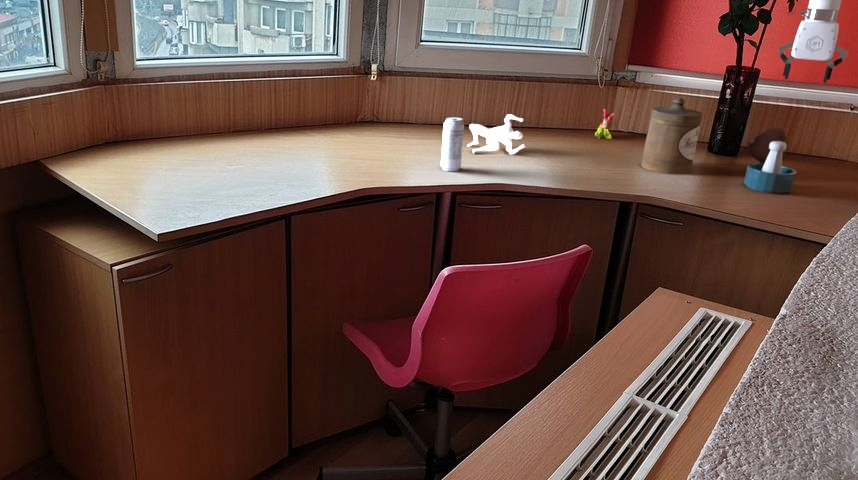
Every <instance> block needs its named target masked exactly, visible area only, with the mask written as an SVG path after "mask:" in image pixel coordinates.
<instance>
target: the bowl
mask: <svg viewBox="0 0 858 480" xmlns="http://www.w3.org/2000/svg"><path fill="white" fill-rule="evenodd" d="M763 166H764V163H760V162H758V163H757V162H755V163H749V164H748V165H747V168H746V173H745V177H744V181H743V184H744V185H745V186H746V187H747V188H749V189H750V190H754V191H757V192H760V193H767V194H774V195H781V194H788V193H789V192H792V191H793V188H794V186H795V185H794V184H795V180H796V177H797V170H795V169H793V168H790V167H787V166H784V165H782V169H781V174H778V173H769V172H764V171H761V170H762V168H763Z"/></svg>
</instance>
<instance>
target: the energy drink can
mask: <svg viewBox="0 0 858 480" xmlns="http://www.w3.org/2000/svg"><path fill="white" fill-rule="evenodd" d="M463 121H464V119H463V118H461V117H455V116H454V117H453V116H451V117H449V116H448V117H446V118H445V121H444V122H443V128H442V143H441V156H440V167H441V169H442V170H443V171H445V172H458V171H460V168H461V167H462V157H463V147H464V146H463V145H464V144H463V143H464V132H465V124H464V122H463Z"/></svg>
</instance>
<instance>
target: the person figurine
mask: <svg viewBox="0 0 858 480" xmlns="http://www.w3.org/2000/svg"><path fill="white" fill-rule="evenodd" d="M511 120H515V121H518V122H520V123H523V122H524V118H523V117H518V116H516V115H514V114H511V113H508V114H506V116H505V118H504V119H503V122H504V123H505V124H504V125H501V126H494V127H492V128H488V127H486V126H485V125H482V124H479V123H471V124H469V127H468V128H469V130H470V131H471V133H472V136H473V141H472V142H470V143H468V144H467V145H466V147H472V146H477V145H479V144H480V143H479V136H481V137H484V138H485V142H486V144H487V145H484V146H481V147H479V148H478V147H477V148H473V149H472V154H475V153H479V152H486V153H489V152H495V151H498V150H500V143H502V144H503V145H504V146H505V150H506V152H507V153H508V154H509V155H513V156H514V155H515V154H517V153H518V152H519V151H521V150H522V149H525V148H526V145H525V144H521V145H519V147H517V148H514V149H513V141H512V140H516V141H517V140H522V138H523V137H524V135H523V133H522V132H521V131H519V130H515V131H514V129H513V127H512V124H513V123H512V122H511Z"/></svg>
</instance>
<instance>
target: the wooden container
mask: <svg viewBox="0 0 858 480" xmlns="http://www.w3.org/2000/svg"><path fill="white" fill-rule="evenodd" d="M685 101H686V100H685V99H684V98H682V97H676V98H674V99H673V100H672V103H673V104H672V105H671V106H655V107H653V108H652V110H651V113H650V115H651V116H650V120H649V125H648V130H647V133H646V139H645V142H644V148H643V149H644V150H643V154H642V159H641V164H640V165H641V167H642V168H644V169H645V170H647V171H652V172H656V173H659V174H667V175H668V174H669V175H687V174H690V173H691V171H692V167H693V162H694V158H695V155H696V154H695V153H696V149H697V144H698V139H699V132H700V127H701V123H702V119H703V112H702V111H699V110H695V109H690V108H686V107H685V105H684V104H685Z"/></svg>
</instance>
